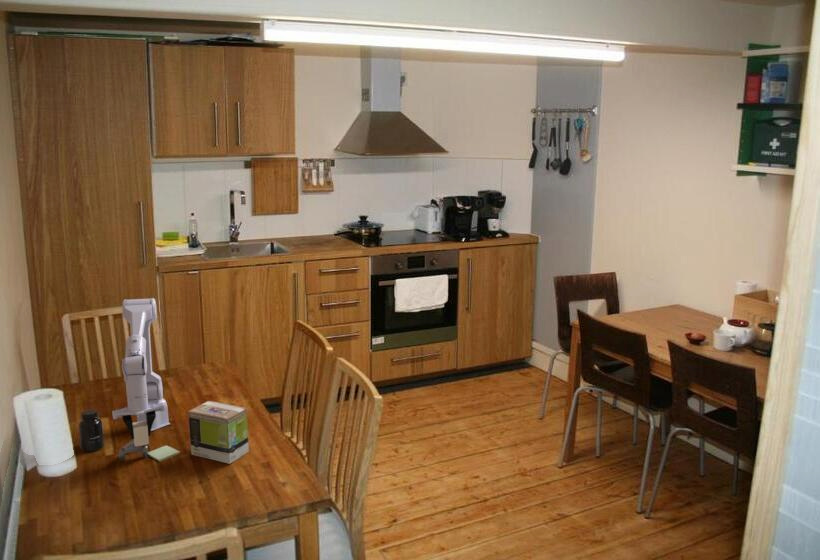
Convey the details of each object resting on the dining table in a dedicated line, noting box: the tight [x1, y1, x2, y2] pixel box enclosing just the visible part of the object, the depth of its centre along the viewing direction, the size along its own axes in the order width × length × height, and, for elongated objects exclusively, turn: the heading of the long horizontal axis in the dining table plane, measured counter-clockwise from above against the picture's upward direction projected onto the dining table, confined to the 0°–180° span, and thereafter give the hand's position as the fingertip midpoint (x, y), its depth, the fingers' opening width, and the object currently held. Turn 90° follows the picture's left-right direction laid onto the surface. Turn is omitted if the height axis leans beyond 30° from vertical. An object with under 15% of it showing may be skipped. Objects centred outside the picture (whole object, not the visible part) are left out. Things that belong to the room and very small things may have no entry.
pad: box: [148, 445, 181, 462], centre depth 229 cm, size 7×7×1 cm
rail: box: [118, 439, 150, 462], centre depth 227 cm, size 8×8×4 cm
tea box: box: [188, 400, 250, 465], centre depth 229 cm, size 15×10×15 cm
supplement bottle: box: [78, 408, 105, 453], centre depth 232 cm, size 7×7×12 cm
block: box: [132, 421, 150, 446], centre depth 225 cm, size 4×4×6 cm
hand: (140, 436), depth 226 cm, fingers closed on block, 4 cm apart
